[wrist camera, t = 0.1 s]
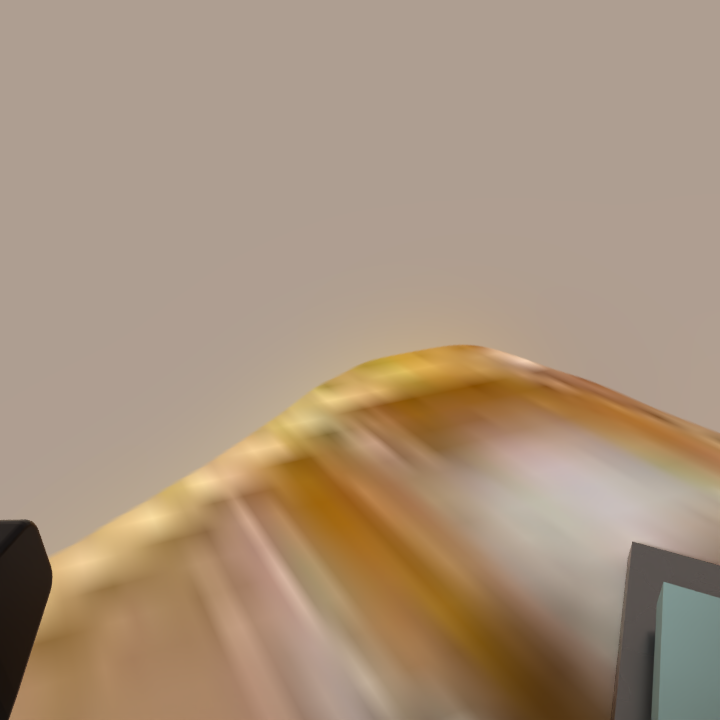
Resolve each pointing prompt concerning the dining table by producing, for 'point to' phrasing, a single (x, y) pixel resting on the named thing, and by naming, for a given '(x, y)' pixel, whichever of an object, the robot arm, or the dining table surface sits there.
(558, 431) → the dining table surface
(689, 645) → the teal plank with post
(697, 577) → the panel
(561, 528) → the dining table surface
